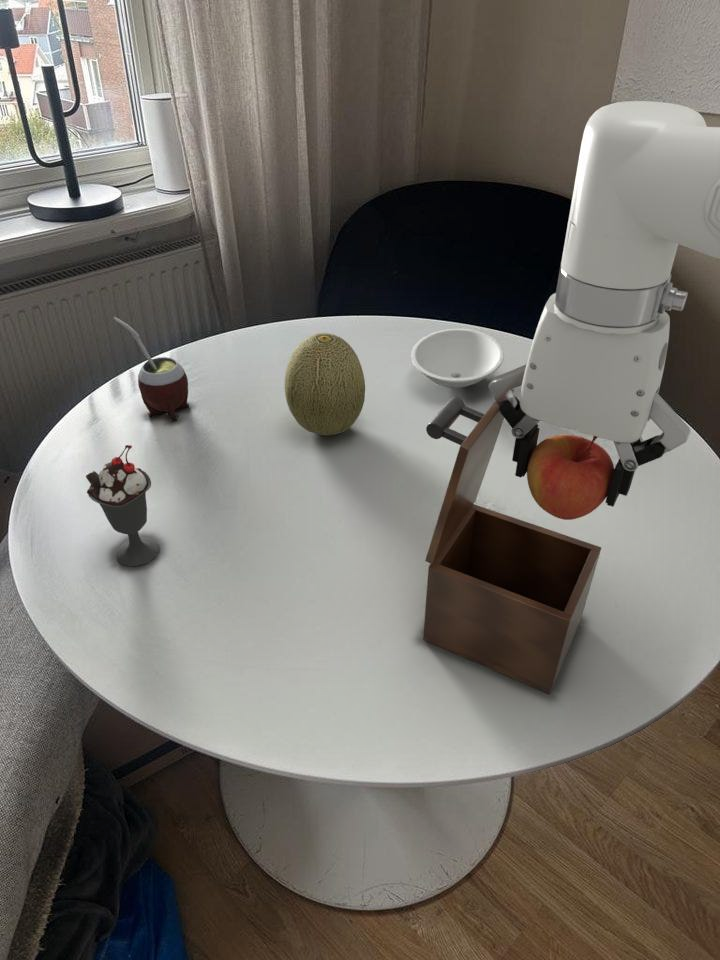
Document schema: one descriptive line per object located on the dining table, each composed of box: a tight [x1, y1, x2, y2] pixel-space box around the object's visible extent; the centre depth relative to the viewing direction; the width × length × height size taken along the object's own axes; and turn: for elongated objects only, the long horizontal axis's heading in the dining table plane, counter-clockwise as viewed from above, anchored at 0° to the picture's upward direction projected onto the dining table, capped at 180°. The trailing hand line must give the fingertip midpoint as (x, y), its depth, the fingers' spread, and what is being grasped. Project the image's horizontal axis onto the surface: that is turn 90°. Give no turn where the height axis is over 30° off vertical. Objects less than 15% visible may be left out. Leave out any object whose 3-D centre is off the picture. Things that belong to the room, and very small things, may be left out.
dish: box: [411, 328, 505, 388], centre depth 113 cm, size 18×14×5 cm
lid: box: [425, 389, 515, 565], centre depth 66 cm, size 14×11×5 cm
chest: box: [422, 503, 602, 695], centre depth 71 cm, size 14×11×11 cm
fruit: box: [284, 332, 366, 436], centre depth 99 cm, size 11×11×15 cm
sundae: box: [85, 444, 160, 567], centre depth 79 cm, size 7×7×15 cm
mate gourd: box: [113, 316, 190, 423], centre depth 103 cm, size 8×8×15 cm
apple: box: [526, 434, 615, 521], centre depth 62 cm, size 7×7×8 cm
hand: (568, 481), depth 63 cm, fingers closed on apple, 7 cm apart
